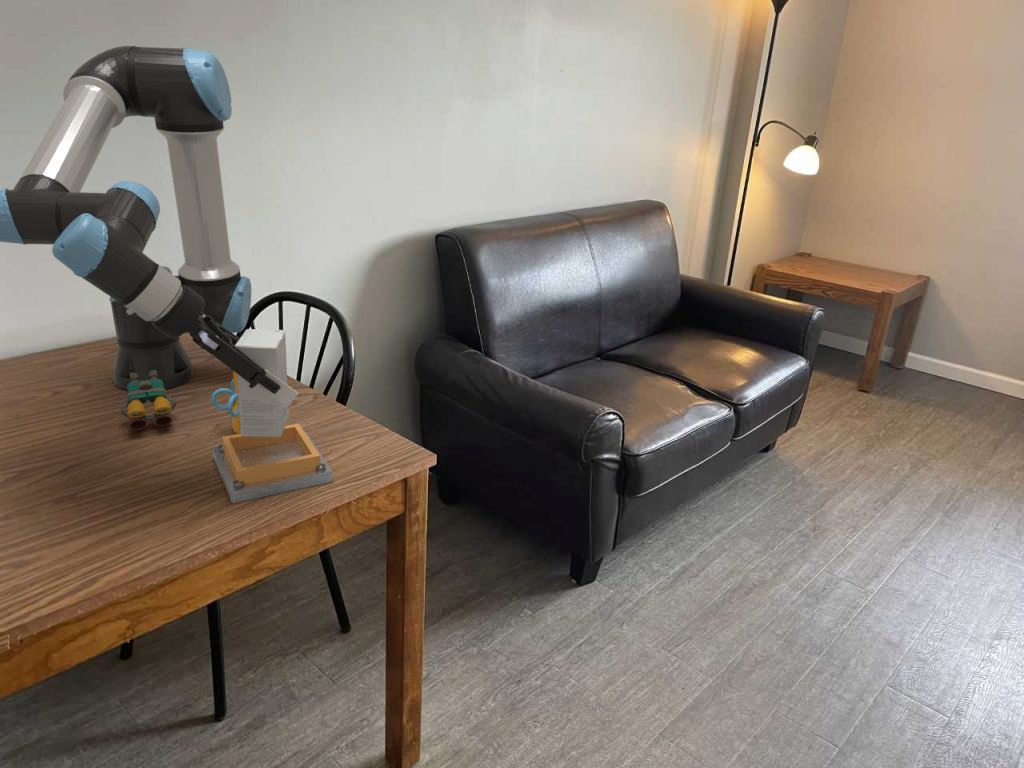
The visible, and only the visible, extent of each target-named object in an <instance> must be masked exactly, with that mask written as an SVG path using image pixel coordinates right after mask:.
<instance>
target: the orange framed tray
mask: <svg viewBox="0 0 1024 768" xmlns="http://www.w3.org/2000/svg"><path fill="white" fill-rule="evenodd" d="M303 431H304V430H303ZM304 432H305V434H306V435H307V437H308V438H309V440H310V441H311V443H312V444H313V446H314V447H315V449H316V450H317V452H318V453H319V455H320V464H321V466H317V467H316V470H313V471H309V472H304V473H299V474H294V475H289V476H284V477H279V478H275V479H270V480H265V481H260V482H255V483H250V484H245V485H244V482H239V483H238V480H236V478H235V476H234V474H233V471H232V469H231V467H230V465H229V462H228V460H227V458H226V455H225V453H224V448H223V444H222V445H218V446H217V447H212V456H213V460H214V461H213V462H214V463H215V465H216V468H217V470H218V473H219V476H220V478H221V481H222V483H223V485H224V488H225V489H226V490H225V491H226V492H227V495H228V497H229V500H230V502H231V504H232V503H233V504H235V503H236V502H237V503H240V502H241V503H242V502H245V501H250V500H254V499H260V498H263V497H264V498H265V497H270V496H273V495H277V494H279V495H280V494H282V493H283V494H284V493H288V492H293V491H297V490H301V489H306V488H307V489H308V488H311V487H317V486H321V485H325V484H329V483H333V482H334V475H333V470H332V468H331V466H329V464H328V462H327V461H326V459H325V457H323V455H322V454H321V451H319V449H318V447H317V446H316V444H315V442H314V441H313V440H312V438H311V436H310V435H309V433H308V432H307V431H304ZM235 452H236V454H237V457H238V459H239V461H240V463H241V465H242V467H243V468H244V467H249V466H254V465H259V464H264V463H269V462H274V461H280V460H285V459H290V458H295V457H300V456H305V454H304V452H303V451H302V449H301V448H300V446H299V444H298V443H297V441H296V440H290V441H285V442H280V443H274V444H269V445H263V446H258V447H253V448H247V449H242V450H236V451H235ZM269 495H270V496H269ZM237 503H236V504H237Z"/></svg>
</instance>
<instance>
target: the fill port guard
mask: <svg viewBox="0 0 1024 768" xmlns="http://www.w3.org/2000/svg"><path fill="white" fill-rule="evenodd" d="M290 440H296V441H297V443H298V444H299V446H300V448H301V449H302V451H303V452H304V454H305V456H300V457H295V458H290V459H285V460H280V461H274V462H269V463H264V464H259V465H254V466H249V467H244V468H243V467H242V465H241V463H240V461H239V459H238V457H237V454H236V452H235V451H236V450H242V449H247V448H253V447H258V446H263V445H269V444H274V443H280V442H285V441H290ZM221 442H222V445H223V448H224V453H225V455H226V458H227V460H228V462H229V465H230V467H231V469H232V471H233V474H234V476H235V478H236V480H238V483H239V482H244V485H245V484H250V483H255V482H260V481H265V480H270V479H275V478H279V477H284V476H289V475H294V474H299V473H304V472H309V471H313V470H316V467H317V466H321V464H320V455H319V453H318V452H317V450H316V449H315V447H314V446H313V444H312V443H311V441H310V440H309V438H308V437H307V435H306V434H305V432H304V429H303V427H302V426H301V424H300V423H294V424H289V425H285V428H284V430H283V432H282V435H281V437H242V436H241V434H237V433H235V434H232V435H227V436H226V435H225V436H222V437H221Z"/></svg>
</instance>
